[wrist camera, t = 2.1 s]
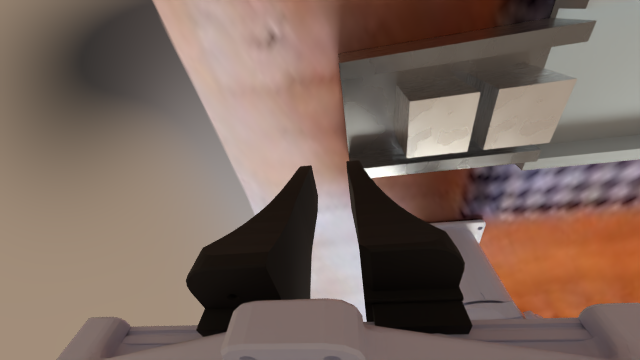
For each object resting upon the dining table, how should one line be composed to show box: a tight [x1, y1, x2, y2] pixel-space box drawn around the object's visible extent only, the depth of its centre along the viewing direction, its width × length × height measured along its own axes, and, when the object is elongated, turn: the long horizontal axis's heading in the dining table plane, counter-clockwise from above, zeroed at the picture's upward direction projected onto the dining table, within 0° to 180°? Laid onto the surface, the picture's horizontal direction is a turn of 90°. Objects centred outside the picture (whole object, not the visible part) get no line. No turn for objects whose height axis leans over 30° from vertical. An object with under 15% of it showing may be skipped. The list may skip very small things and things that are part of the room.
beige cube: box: [467, 64, 577, 150], centre depth 16 cm, size 4×4×4 cm
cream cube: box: [395, 76, 481, 158], centre depth 17 cm, size 4×4×4 cm
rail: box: [338, 18, 597, 178], centre depth 18 cm, size 9×14×4 cm, turn 99°
